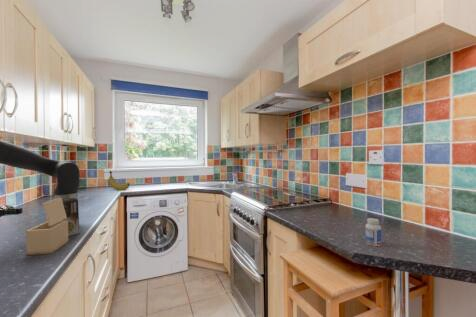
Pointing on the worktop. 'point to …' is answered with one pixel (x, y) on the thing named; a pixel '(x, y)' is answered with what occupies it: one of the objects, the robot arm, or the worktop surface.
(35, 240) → the carton
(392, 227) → the worktop surface
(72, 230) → the coffee box
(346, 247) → the worktop surface
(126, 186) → the banana
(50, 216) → the carton flap
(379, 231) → the pill bottle
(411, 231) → the worktop surface
